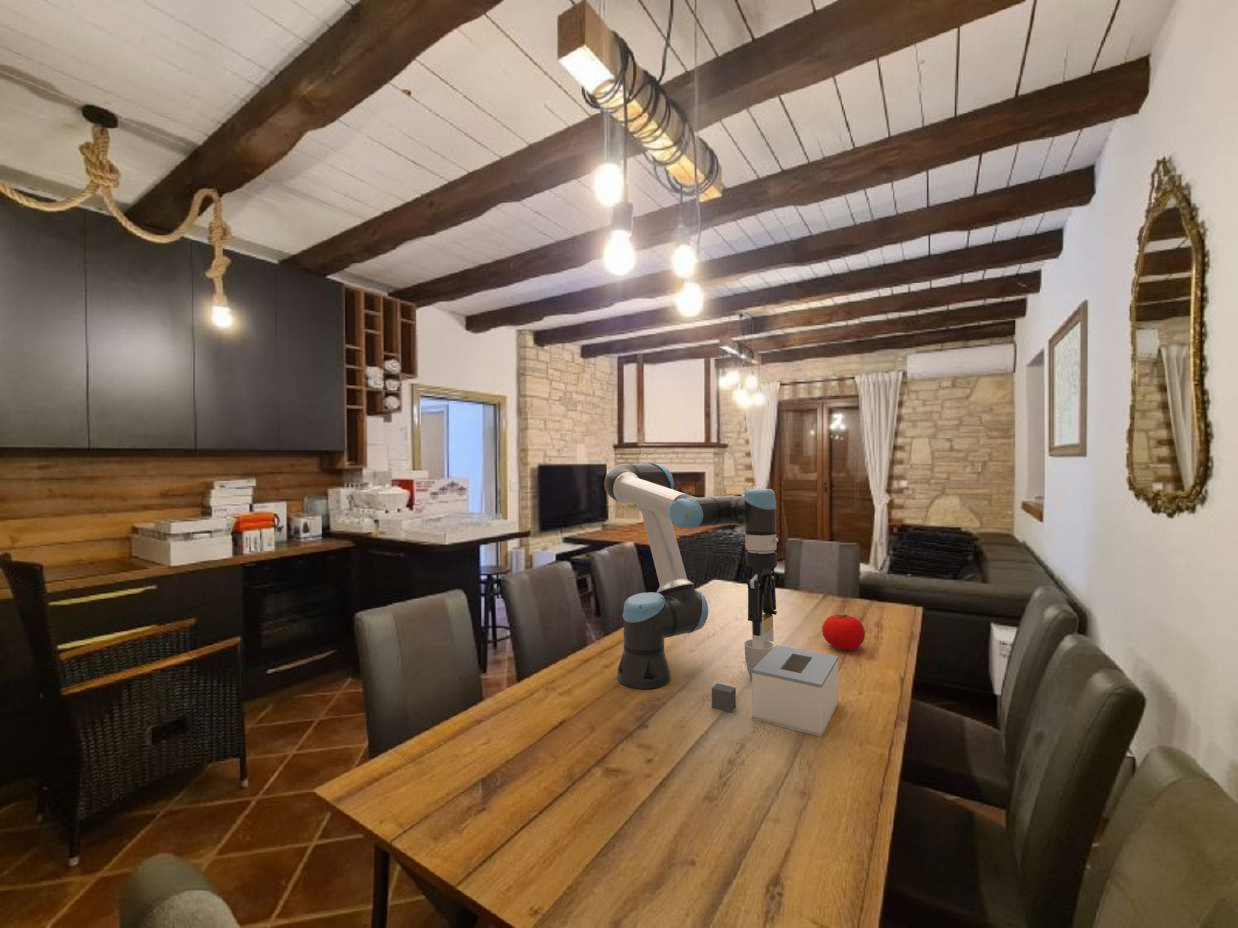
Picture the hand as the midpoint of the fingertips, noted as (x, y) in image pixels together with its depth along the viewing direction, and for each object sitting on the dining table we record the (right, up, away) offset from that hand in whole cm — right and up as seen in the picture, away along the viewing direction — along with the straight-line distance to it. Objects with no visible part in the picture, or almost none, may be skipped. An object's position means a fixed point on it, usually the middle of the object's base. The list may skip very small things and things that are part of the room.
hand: (763, 643), depth 135 cm
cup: (+4, -17, +20) cm, 26 cm away
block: (-9, -17, +2) cm, 19 cm away
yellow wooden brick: (0, +4, 0) cm, 4 cm away
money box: (+8, -17, +1) cm, 19 cm away
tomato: (+38, -16, +44) cm, 61 cm away
